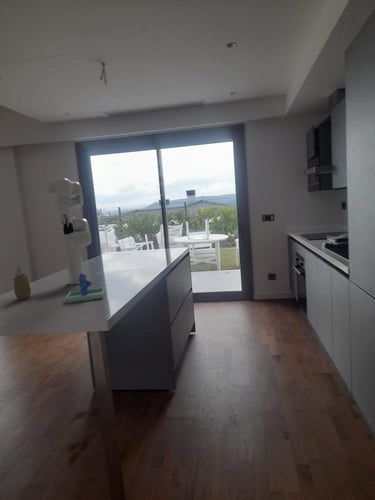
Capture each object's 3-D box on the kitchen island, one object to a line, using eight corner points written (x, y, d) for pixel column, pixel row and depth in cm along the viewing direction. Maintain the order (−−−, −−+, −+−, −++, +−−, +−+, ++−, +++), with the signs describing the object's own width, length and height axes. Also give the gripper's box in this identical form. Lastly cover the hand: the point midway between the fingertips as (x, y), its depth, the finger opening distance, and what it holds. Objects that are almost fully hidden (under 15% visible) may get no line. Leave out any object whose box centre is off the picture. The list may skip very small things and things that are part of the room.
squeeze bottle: (25, 300, 176) (19, 267, 173) (12, 300, 177) (6, 267, 175) (35, 296, 183) (30, 264, 181) (22, 296, 185) (17, 264, 183)
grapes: (92, 297, 166) (89, 273, 165) (78, 299, 165) (75, 275, 163) (94, 291, 178) (91, 269, 176) (81, 293, 176) (78, 271, 175)
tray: (70, 296, 175) (69, 291, 175) (105, 291, 178) (104, 287, 178) (65, 303, 162) (64, 298, 161) (102, 298, 164) (102, 293, 164)
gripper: (60, 202, 187) (65, 233, 189) (53, 202, 170) (58, 235, 172) (74, 201, 188) (78, 231, 190) (68, 201, 171) (73, 234, 173)
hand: (69, 233), depth 181 cm, fingers open, 9 cm apart
